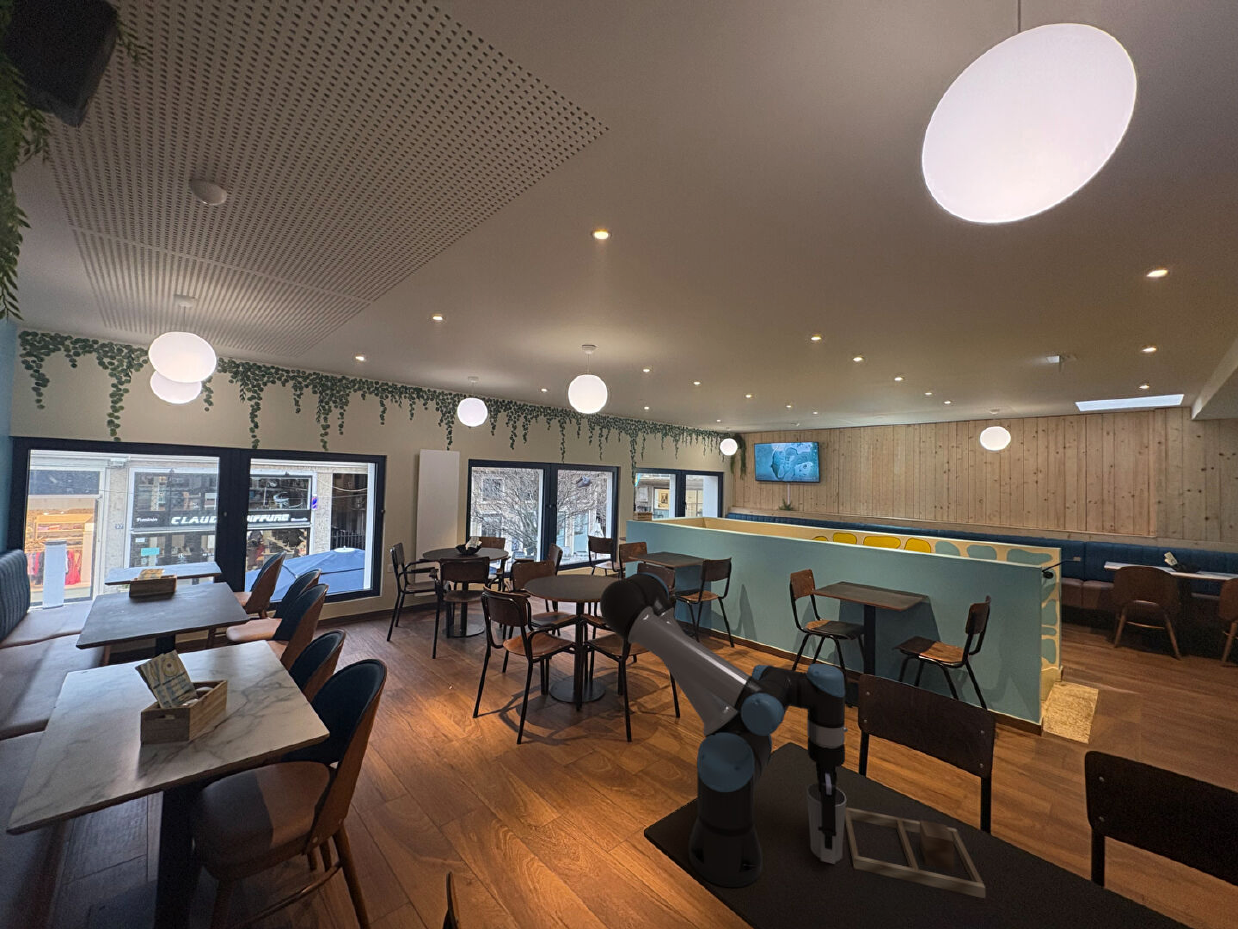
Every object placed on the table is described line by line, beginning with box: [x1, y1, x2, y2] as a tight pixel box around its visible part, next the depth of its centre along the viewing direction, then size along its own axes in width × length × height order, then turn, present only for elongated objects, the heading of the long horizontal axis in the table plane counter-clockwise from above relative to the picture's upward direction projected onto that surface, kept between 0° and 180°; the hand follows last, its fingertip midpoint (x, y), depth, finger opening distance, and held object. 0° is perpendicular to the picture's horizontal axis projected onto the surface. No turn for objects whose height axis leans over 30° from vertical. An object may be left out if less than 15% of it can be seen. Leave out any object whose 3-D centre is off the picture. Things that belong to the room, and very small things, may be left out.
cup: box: [806, 782, 847, 863], centre depth 107 cm, size 8×8×12 cm
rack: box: [844, 806, 986, 899], centre depth 107 cm, size 23×17×2 cm
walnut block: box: [919, 819, 955, 872], centre depth 105 cm, size 5×5×6 cm
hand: (826, 847), depth 107 cm, fingers closed on cup, 7 cm apart
